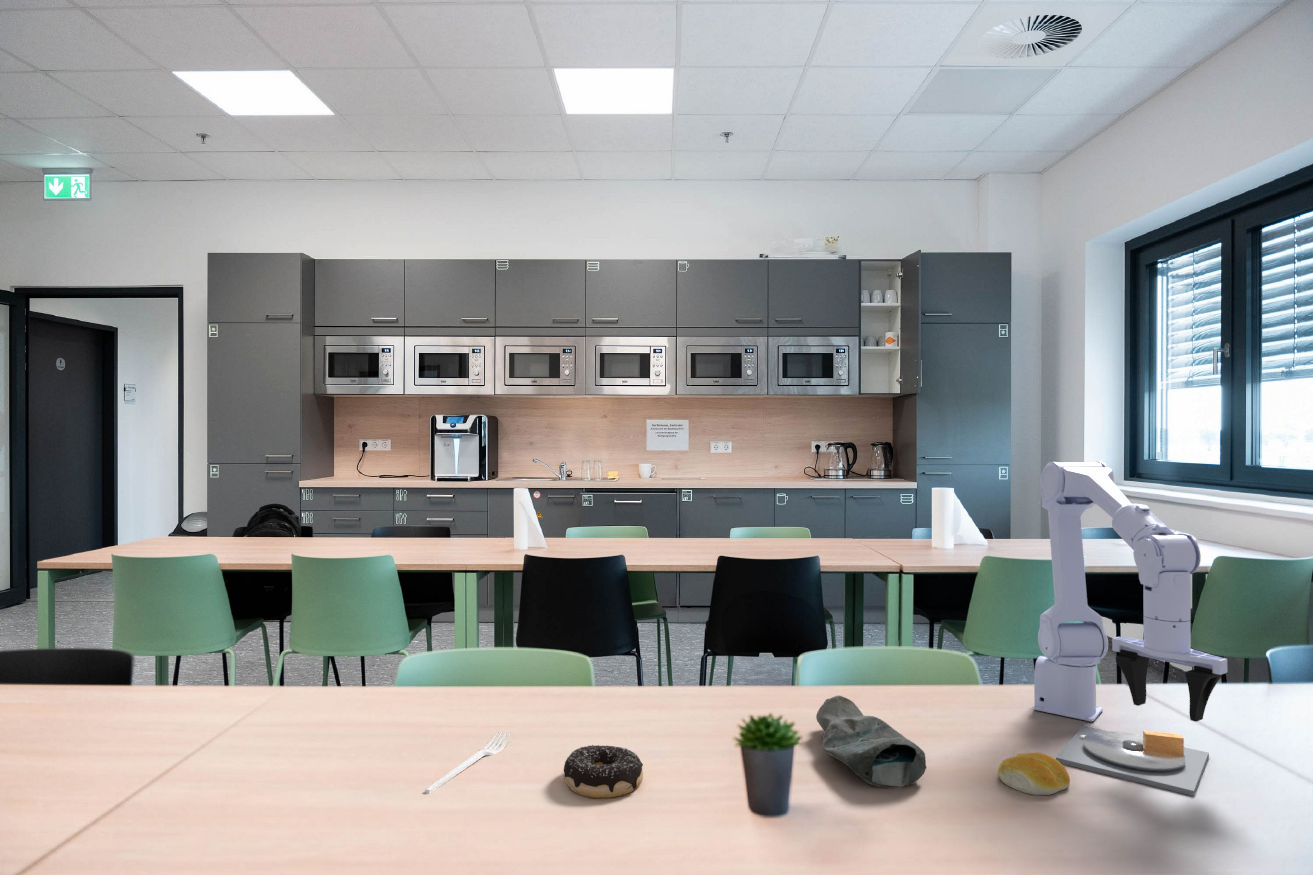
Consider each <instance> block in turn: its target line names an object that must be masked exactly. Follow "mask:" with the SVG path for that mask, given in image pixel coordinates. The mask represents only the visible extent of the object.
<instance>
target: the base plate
mask: <svg viewBox="0 0 1313 875" xmlns="http://www.w3.org/2000/svg"><path fill="white" fill-rule="evenodd" d="M1105 731H1107V730H1105V729H1101V728H1096V727H1092V726H1091V727H1090V726H1087V725H1083V726H1082V727H1080V729H1079V730H1078V731H1077V732H1076V733H1075V734H1074V736H1072V738H1071V739H1070V740H1069V742H1067V743H1066V745H1065V746H1064V747H1063V748H1062V750H1061V751H1060V752H1059V753H1058V754H1057V755H1056V756H1055V759H1056V760H1058V761H1059V762H1060V763H1061V764H1062V765H1066V766H1071V767H1074V768H1078V769H1082V770H1086V771H1091V772H1094V773H1099V774H1104V775H1106V776H1110V777H1115V778H1118V779H1123V780H1126V781H1131V782H1134V783H1135V782H1136V783H1139V784H1143V785H1147V786H1150V787H1151V786H1152V787H1156V788H1158V789H1159V788H1160V789H1164V790H1168V791H1172V792H1176V793H1179V794H1184V795H1188V796H1193V797H1194V796H1195V794H1196V791H1197V790H1198V786H1199V784H1200V781H1201V779H1202V776H1203V774H1204V771H1205V768H1206V766H1207V763H1208V761H1209V759H1210V753H1209V752H1210V751H1209V752H1207V751H1203V750H1198V749H1195V748H1190V747H1189V748H1188V747H1186V746H1185V747H1184V755H1185V765H1184V766H1183V767H1182V768H1180V769H1177V770H1173V771H1147V770H1139V769H1133V768H1128V767H1123V766H1120V765H1116V764H1113V763H1110V762H1107V761H1104V760H1102V759H1099V758H1097V757H1095V756H1093V755H1092V754H1090V753H1089V752H1088V751H1087V750H1086V749H1085V748H1084V746H1083V739H1084V737H1085V736H1086V735H1088V734H1090V733H1095V732H1105Z"/></svg>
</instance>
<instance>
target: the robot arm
mask: <svg viewBox="0 0 1313 875" xmlns="http://www.w3.org/2000/svg"><path fill="white" fill-rule="evenodd" d="M1039 483H1040V484H1039V485H1040V499H1041V507H1042V508H1043V509H1045V510H1047V514H1048V515H1047V517H1048V528H1049V540H1050V541H1049V542H1050V543H1049V544H1050V553H1051V554H1050V555H1051V556H1050V557H1051V567H1052V569H1051V570H1052V582H1053V584H1052V585H1053V596H1054V604H1053V605H1052V606H1050V607H1049V608H1048V609H1047V610H1045V611H1043V613H1041V614H1040V615H1039V629H1038V633H1037V644H1038V647H1039V649H1040V652H1041V653H1042V654H1043V655H1039V656H1038V657H1037V659H1036V661H1035V665H1034V673H1033V674H1034V675H1033V676H1034V677H1033V678H1034V679H1033V680H1034V686H1033V688H1034V691H1033V692H1034V702H1033V703H1034V705H1033V710H1034V711H1039V712H1042V713H1043V712H1044V713H1047V714H1048V713H1049V714H1054V715H1057V716H1062V717H1066V718H1067V717H1068V718H1073V719H1075V720H1076V719H1077V720H1083V721H1087V722H1094V721H1095V720H1096V719H1097V717H1098V716H1099V715H1100V714H1101V713H1102V711H1103V710H1104V708H1103V707H1101V706H1098V705H1097V665H1100V664H1101V660H1102V659H1103V658H1105V657H1106V655H1107V653H1108V649H1109V640H1108V639H1109V638H1108V635H1107V633H1106V630H1105V627H1104V622H1103V617H1102V616H1101V615H1100V614H1099V613H1098V612H1096V611H1095V610H1094V609H1092V608H1091V607H1090V606H1089V604H1088V597H1087V596H1088V594H1087V583H1086V581H1087V580H1086V570H1085V569H1086V568H1085V555H1084V547H1083V546H1084V545H1083V544H1084V543H1083V534H1082V520H1081V517H1082V515H1083V514H1084V512H1086V510H1088V509H1092V508H1093V507H1094V506H1096V505H1097V506H1098V507H1099V508H1100V509H1101V510H1102V511H1104V512H1105V513H1106V514H1107V515H1108V516H1110V517H1111V518H1112V519H1111V526H1112V529H1113V530H1114V532H1115V533H1117V535H1118V536H1119V537H1120V538H1121V539H1122V540H1123V541H1124V542H1125V543H1126V544H1127V545H1128V546H1129V548H1131V549H1132V550H1133V552H1132V553H1133V559H1134V560H1133V561H1134V563H1135V565H1136V567H1137V568H1136V569H1137V571H1138V580H1139V582H1140V584H1141V585H1143V590H1142V591H1143V595H1142V596H1143V597H1142V598H1143V599H1142V600H1143V606H1142V607H1143V639H1137V638H1129V637H1122V636H1117V637H1112V641H1111V642H1112V643H1111V644H1112V648H1111V649H1112V652H1116V653H1117V652H1118V653H1119V654H1118V655H1116V656H1115V662H1116V664H1117V665H1118V666H1119V668H1120V670H1121V672H1122V674H1123V675H1124V678H1125V680H1126V682H1127V685H1128V688H1129V692H1130V694H1131V699H1132V703H1133V705H1134V706H1137V707H1139V706H1143V705H1144V704H1146V702H1147V675H1148V668H1149V662H1150V659H1153V660H1158V661H1162V662H1163V661H1164V662H1167V663H1172V664H1175V665H1181V666H1183V667H1184V666H1185V667H1189V668H1193V669H1190V670H1187V671H1185V672H1184V675H1185V679H1186V682H1187V683H1186V684H1187V687H1188V693H1189V694H1188V695H1189V712H1188V713H1189V720H1190V721H1192V722H1199V721H1201V720H1203V719H1204V714H1205V711H1206V707H1207V704H1208V701H1209V699H1210V696H1211V694H1212V692H1213V691H1214V688H1215V687H1216V685H1217V684H1218V682H1219V681H1220V679H1221V677H1222V676H1223V675H1224V674H1225V675H1226V674H1227V673H1228V658H1224V657H1221V656H1216V655H1212V654H1210V653H1205V652H1202V651H1200V650H1195V649H1194V648H1193V649H1192V648H1191V647H1192V644H1191V643H1192V642H1191V640H1192V639H1191V636H1192V634H1191V629H1192V628H1191V624H1192V623H1191V622H1192V621H1191V619H1192V618H1191V617H1192V616H1191V614H1192V613H1191V610H1192V609H1191V606H1192V605H1191V604H1192V603H1191V574H1194V573H1196V572H1197V571H1198V569H1199V567H1200V565H1201V556H1202V555H1201V550H1200V547H1199V545H1198V543H1197V541H1196V540H1195V539H1194V538H1193V537H1192V535H1191V534H1189V533H1186V532H1185V533H1183V532H1182V533H1180V532H1178V531H1172V529H1170V528H1169V527H1168V526H1167V525H1166V524H1165V523H1164V522H1163V521H1162V520H1161V519H1160V518H1158V516H1157V515H1155V514H1154V512H1152V511H1151V508H1150V507H1149V506H1148V505H1146V504H1140V503H1132V502H1131V501H1130V500H1129V498H1128V497H1127V496H1126V495H1125V493H1123V491H1122V490H1121V489H1120V488H1119V486H1117V484H1116V483H1115V476H1114V471H1113V470H1112V468H1110V467H1109V466H1108V465H1107V463H1105V461H1104V462H1103V461H1096V462H1057V461H1049V462H1047V463H1046V465H1045V466H1044V468H1043V469H1042V472H1041V473H1040V475H1039ZM1065 622H1066V623H1065ZM1069 622H1070V623H1069ZM1076 622H1077V623H1076Z"/></svg>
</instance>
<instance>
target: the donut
mask: <svg viewBox="0 0 1313 875" xmlns="http://www.w3.org/2000/svg"><path fill="white" fill-rule="evenodd" d="M566 758H567V759H565V761H564V766H563V773H564V774H563V775H564V776H563V777H564V781H565V783H566V784H567V786H568V788H569V789H571V790H572V791H573V792H575V793H576V794H578V795H581V796H582V797H587V798H591V799H603V798H604V799H610V798H611V799H612V798H613V799H614V798H616V797H620V796H624V795H627V794H629V793H632V792H634V791H635V790H636V789H638V788H639V787H640V786H641V785H642V782H643V779H644V770H643V763H642V761H641V759H640V758H639V756H638V754H636V752H634V751H632V750H630V749H628V748H626V747H625V748H624V747H621V746H614V745H600V744H598V745H594V744H592V745H587V746H580V747H578V748H577V749H574V750H573V751H572V752H571V753H570V754H569V756H567V757H566Z"/></svg>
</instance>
